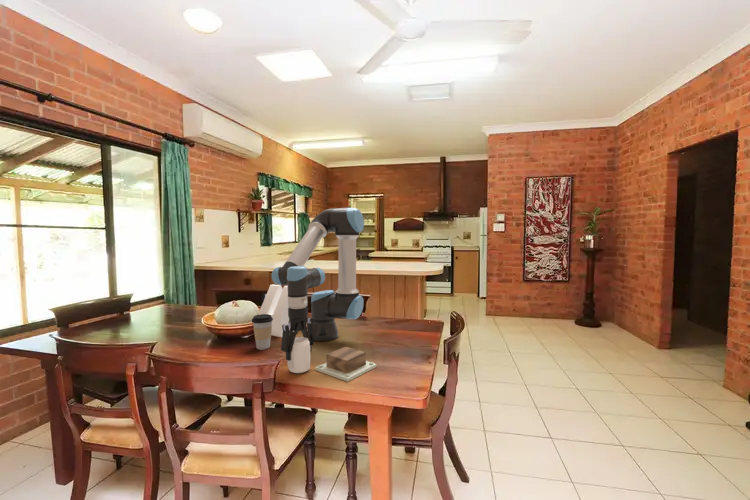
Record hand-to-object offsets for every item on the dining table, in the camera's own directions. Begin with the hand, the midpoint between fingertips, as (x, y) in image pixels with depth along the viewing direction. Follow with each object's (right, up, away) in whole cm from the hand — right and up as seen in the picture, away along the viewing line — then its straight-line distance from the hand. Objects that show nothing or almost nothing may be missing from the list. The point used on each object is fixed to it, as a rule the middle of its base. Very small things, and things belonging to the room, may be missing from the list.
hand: (299, 364), depth 136 cm
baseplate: (+18, -2, +2) cm, 18 cm away
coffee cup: (-23, -1, +26) cm, 35 cm away
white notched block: (-20, 0, +52) cm, 56 cm away
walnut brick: (+18, -1, +2) cm, 18 cm away
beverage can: (0, -2, 0) cm, 2 cm away
